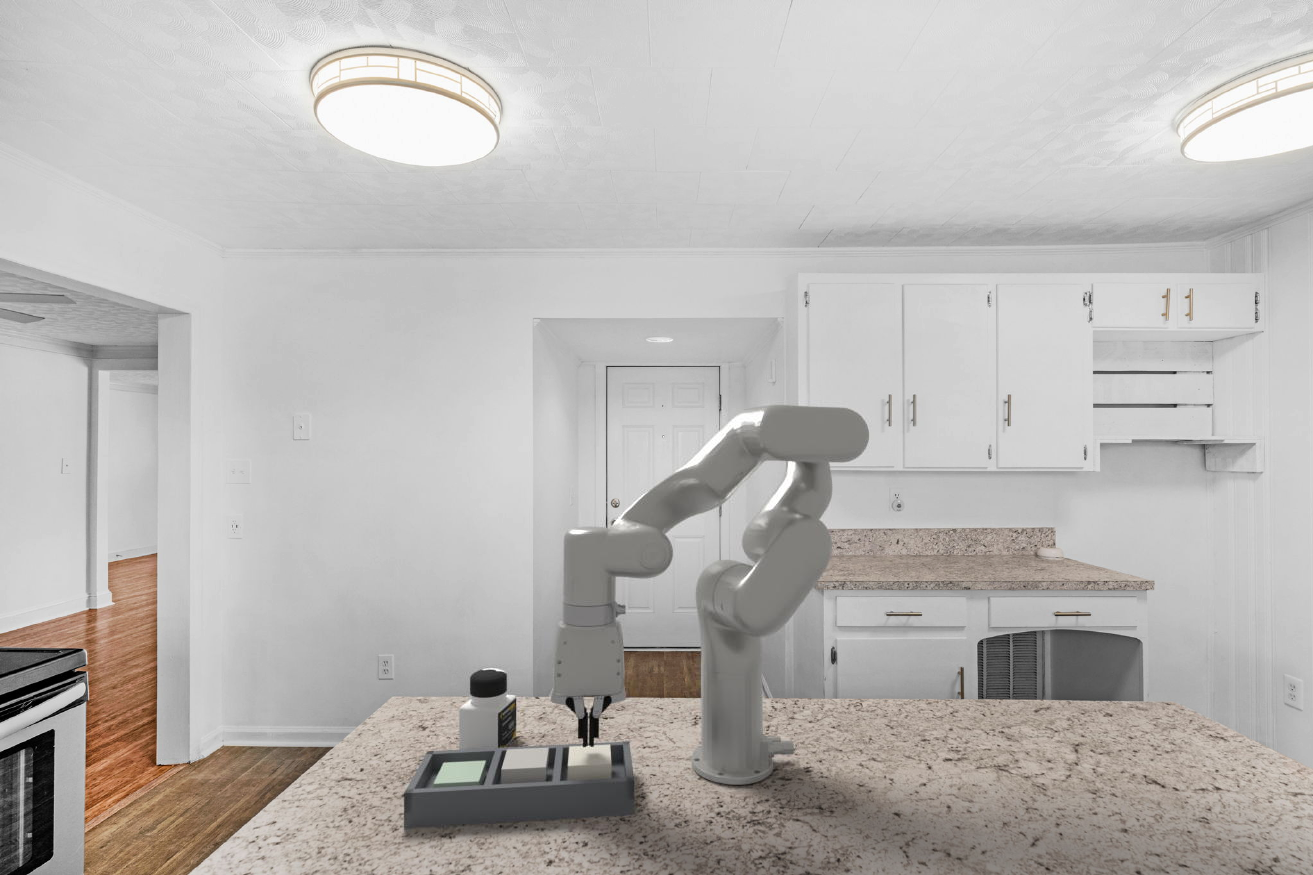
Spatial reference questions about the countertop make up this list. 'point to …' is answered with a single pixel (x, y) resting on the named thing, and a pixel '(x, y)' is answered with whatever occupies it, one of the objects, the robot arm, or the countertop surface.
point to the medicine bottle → (487, 712)
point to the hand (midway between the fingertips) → (588, 742)
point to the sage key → (461, 774)
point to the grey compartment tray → (517, 790)
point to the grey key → (525, 765)
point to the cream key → (589, 762)
